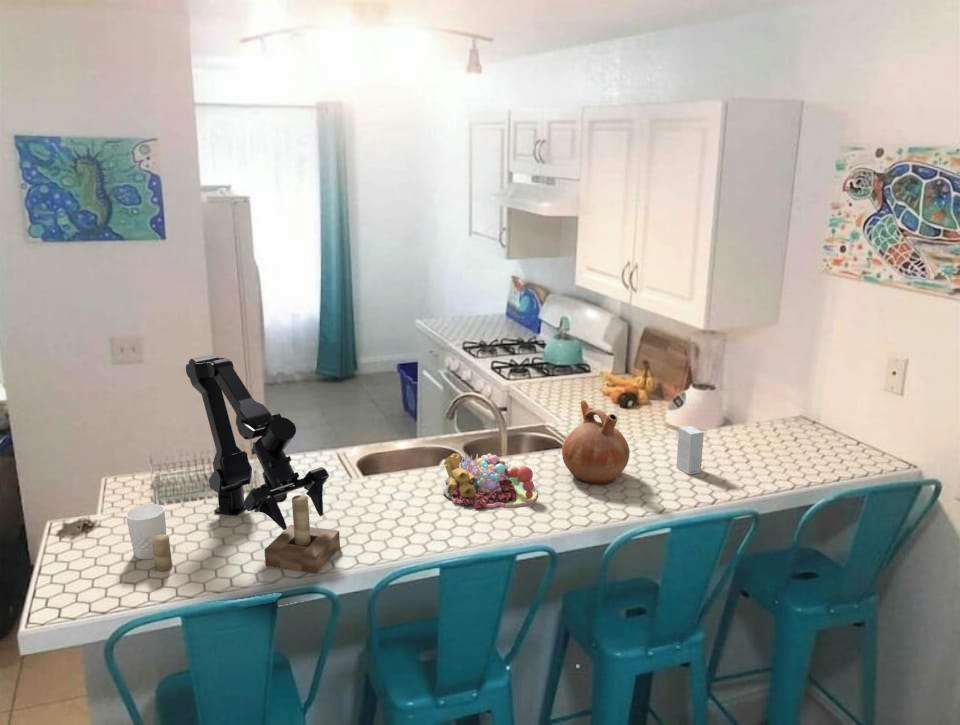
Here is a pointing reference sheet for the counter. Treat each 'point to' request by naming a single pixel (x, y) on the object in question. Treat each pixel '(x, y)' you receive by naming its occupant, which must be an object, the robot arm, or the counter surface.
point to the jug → (595, 448)
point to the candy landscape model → (488, 482)
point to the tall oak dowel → (301, 520)
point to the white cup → (145, 528)
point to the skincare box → (689, 450)
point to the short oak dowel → (162, 552)
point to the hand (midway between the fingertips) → (303, 522)
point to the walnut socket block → (302, 550)
